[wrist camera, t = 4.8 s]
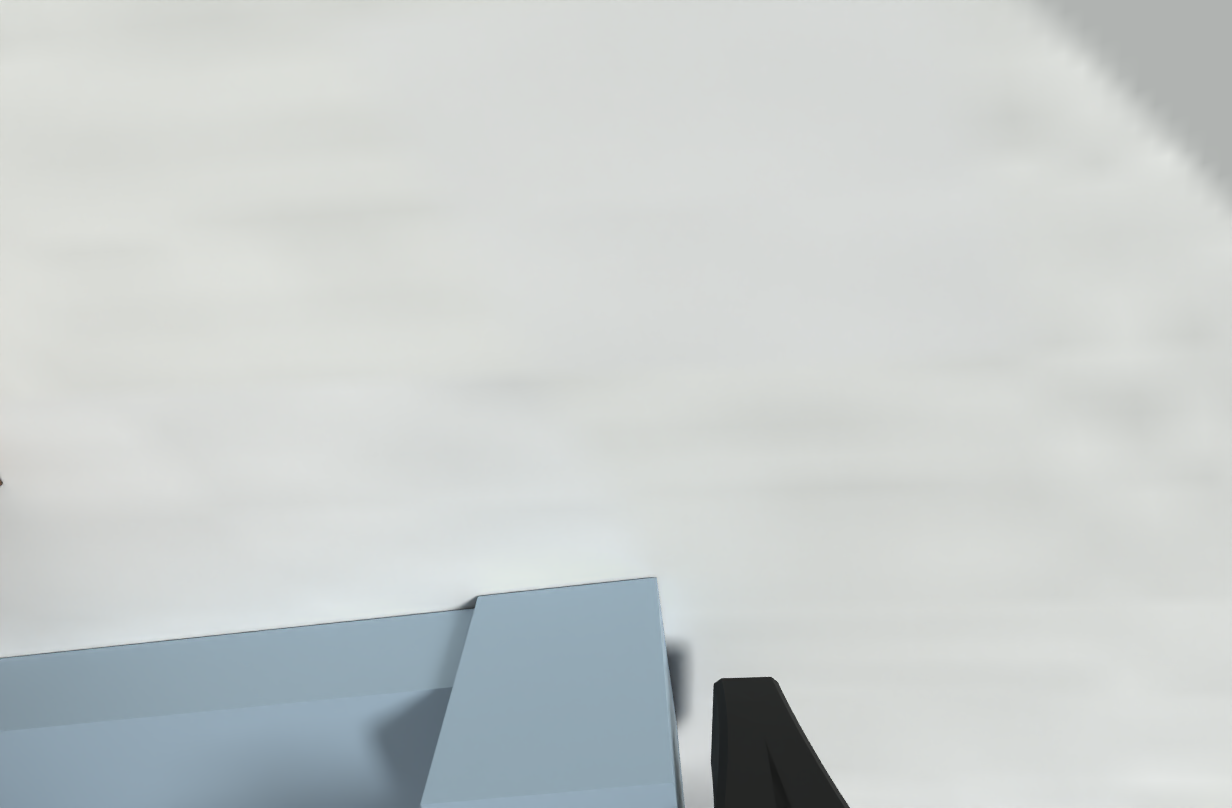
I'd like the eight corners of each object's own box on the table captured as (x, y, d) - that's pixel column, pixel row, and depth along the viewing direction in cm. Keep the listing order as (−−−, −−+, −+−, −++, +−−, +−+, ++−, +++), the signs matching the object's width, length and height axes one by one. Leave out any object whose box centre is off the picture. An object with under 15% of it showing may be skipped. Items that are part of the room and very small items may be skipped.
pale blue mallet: (676, 722, 12) (697, 944, 9) (-89, 793, 13) (-316, 1018, 10) (656, 577, 11) (674, 782, 7) (-208, 669, 11) (-521, 887, 8)
